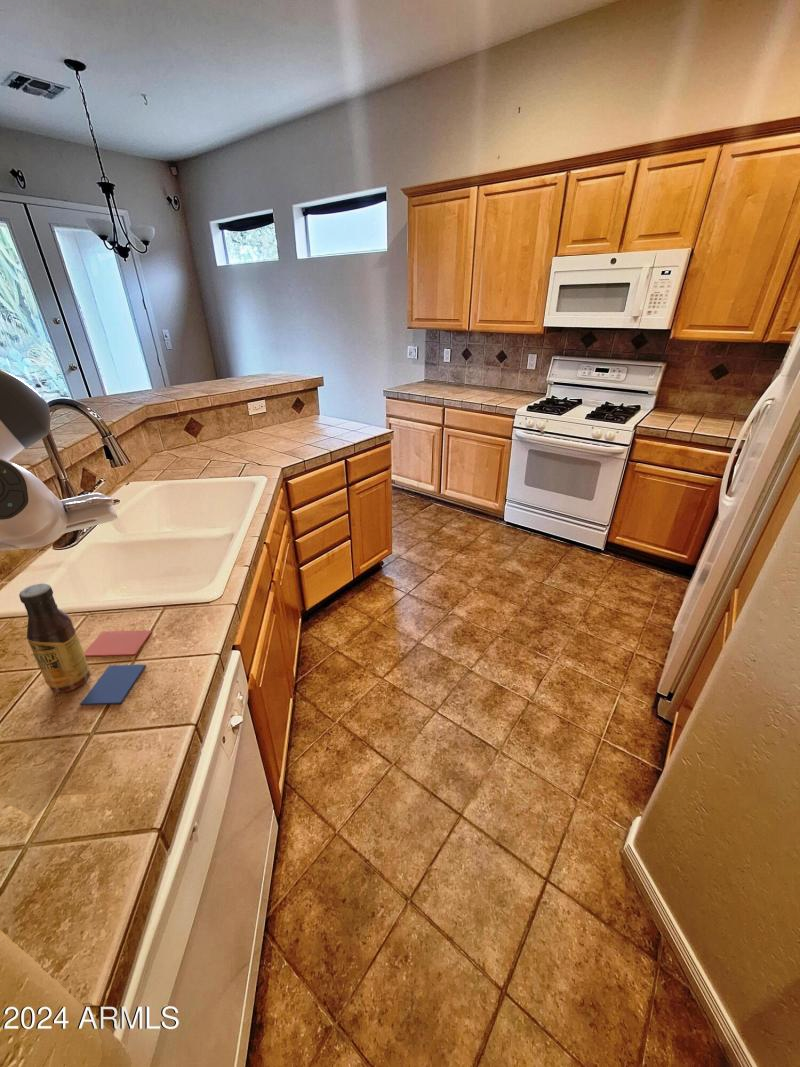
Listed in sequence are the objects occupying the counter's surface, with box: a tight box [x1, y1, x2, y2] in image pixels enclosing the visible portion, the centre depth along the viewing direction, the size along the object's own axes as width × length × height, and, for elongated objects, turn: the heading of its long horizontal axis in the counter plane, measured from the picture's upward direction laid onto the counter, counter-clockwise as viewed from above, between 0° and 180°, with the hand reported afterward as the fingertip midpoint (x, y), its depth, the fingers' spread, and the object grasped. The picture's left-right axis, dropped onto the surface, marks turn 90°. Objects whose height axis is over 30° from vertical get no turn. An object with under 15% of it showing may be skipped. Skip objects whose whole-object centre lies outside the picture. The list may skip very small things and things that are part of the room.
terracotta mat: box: [83, 629, 153, 658], centre depth 86 cm, size 10×7×1 cm
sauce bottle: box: [18, 582, 91, 693], centre depth 72 cm, size 6×6×20 cm
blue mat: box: [80, 664, 147, 706], centre depth 76 cm, size 7×9×1 cm
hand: (50, 532), depth 72 cm, fingers open, 8 cm apart
